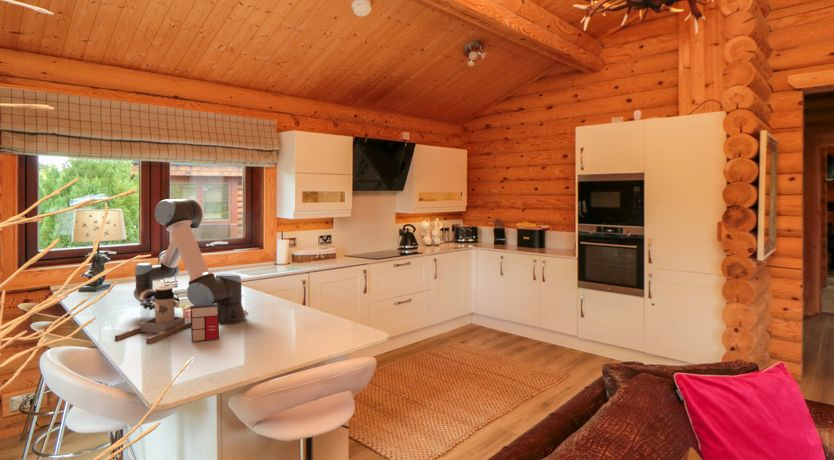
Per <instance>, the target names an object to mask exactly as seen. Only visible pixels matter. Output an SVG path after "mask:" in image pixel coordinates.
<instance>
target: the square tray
mask: <svg viewBox="0 0 834 460" xmlns="http://www.w3.org/2000/svg"><path fill="white" fill-rule="evenodd" d="M185 319H186V318H185V317H184V316H183V317H182V316H175V320H174V321H172V322H169V323H166V324H157V323H155V317H151V318H150V319H147V320H145V321H142V322H140V323H139V326H140V333H142V332H143V333H153V334H154V333H155V334H158V333H160V332H163V331H166V330H168V329H171V328H173V327H175V326H178V325H181V324H183V323H186V321H185Z"/></svg>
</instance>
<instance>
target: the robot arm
mask: <svg viewBox="0 0 834 460" xmlns="http://www.w3.org/2000/svg"><path fill="white" fill-rule="evenodd" d="M154 219H155V221H156V222H157V223H158V224H160V225H161V226H164V228H165V230H166V231H167V232H170V233H171V235H172V239H171V241H170V242H169V243H170V244H169V245H168V247H167V250H166V251H165V254H164V255H163V258H162V260H161V262H160V264H157V265H153V264H152V263H151V262H143V263H142V262H141V263H137V264H136V265H135V269H134V274H135V275H134V276H135V288H134V290H133V297H134V298H135V300H137V301H138V302H139V304H140V306H142V307H143V309H145V310H147V309H148V310H149V311H153V310H154V311H155V310H156V311H159V305H158V304H156V303H155V294H156V290H155V289H154V282H155V281H159V280H164V279H165V280H166V279H170V278H173V277H176V276H178V274H179V270H180V268H179V266H178V264H179V262H180V260H181V259H182V262H183V264H184V267H185V269H186V272H187V274H188V277H189V280H188V283H187V284H188V287H187V289H186V291H187V292H186V296H187V299H188V300H189V302H190V303H191V304H192V306H196V305H209V304H218V307H219V325H231V324H237V323H242V322H244V321H245V320H246V318H247V317H246V313H245V310H244V307H243V302H242V299H243V298H242V277H241V276H240V275H239V274H233V273H218V274H216V275H215V274H214V273H213V272H212V271H209V269H208V266H207V264H206V262H205V259H204V256H203V254H202V251H201V249H200V246H199V245H198V242H197V240H196V238H195V234H194V232H195V230H196V229H198V228H199V227H200V225H201V222H202V219H203V209H202V207H201V204H200V203H199V202H197V201H196V200H194V199H191V198H181V199H180V198H176V199H174V198H168V199H163V200H160V201H158V203H157V204H156V207H155V209H154ZM174 308H177V309H179V308H180V298H179V297H175V296H174Z"/></svg>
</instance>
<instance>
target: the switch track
mask: <svg viewBox="0 0 834 460" xmlns="http://www.w3.org/2000/svg"><path fill="white" fill-rule="evenodd" d="M189 328H191V321H185V323H183V324H181V325H178V326H175V327H173V328H171V329H168V330H166V331H163V332H160V333H155V334H154V335H151V336H148V337H147V338H145V339H146V342H145V343H146V344H153V343H155V342H158V341H159V340H162V339H164V338H167V337H169V336H171V335H174V334H177V333H178V332H182V331H183V330H186V329H189ZM139 333H141V332H140V325H139V326H137V327H134V328H131V329H127V330H126V331H123V332H121V333H118V334H115V335H114V340H115V341H120V340H123V339H125V338H129V337H132V336H134V335H136V334H139Z"/></svg>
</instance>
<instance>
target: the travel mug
mask: <svg viewBox="0 0 834 460" xmlns="http://www.w3.org/2000/svg"><path fill="white" fill-rule="evenodd" d="M173 288H174V287H173V286H171V285H163V286H157V287H155V288H154V290H155V291H156V294H155V303H156V304H158V305H159V311H156V310H154V315H155V316H154V318H155V323H157V324H166V323H169V322H172V321H174V320H175V317H176V316H175V306H174V297H175V293H174V292H173Z"/></svg>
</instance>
